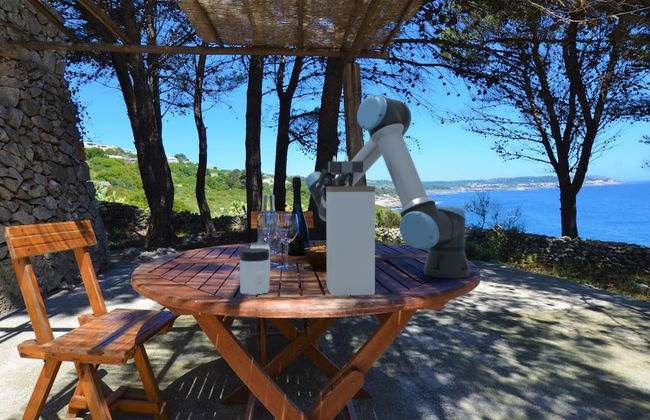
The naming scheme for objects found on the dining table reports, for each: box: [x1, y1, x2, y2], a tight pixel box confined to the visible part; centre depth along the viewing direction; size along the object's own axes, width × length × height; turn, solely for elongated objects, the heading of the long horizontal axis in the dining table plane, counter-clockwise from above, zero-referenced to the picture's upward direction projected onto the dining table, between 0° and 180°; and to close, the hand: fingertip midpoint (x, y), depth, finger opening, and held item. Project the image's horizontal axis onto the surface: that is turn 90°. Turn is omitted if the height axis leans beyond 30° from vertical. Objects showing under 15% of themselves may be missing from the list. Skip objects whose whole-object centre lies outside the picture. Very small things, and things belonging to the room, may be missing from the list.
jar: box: [239, 248, 270, 296], centre depth 123 cm, size 9×8×12 cm
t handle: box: [327, 160, 363, 176], centre depth 136 cm, size 20×10×3 cm, turn 7°
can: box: [249, 241, 271, 280], centre depth 139 cm, size 6×6×12 cm
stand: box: [325, 185, 376, 297], centre depth 124 cm, size 12×12×30 cm
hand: (340, 159), depth 137 cm, fingers closed on t handle, 3 cm apart
